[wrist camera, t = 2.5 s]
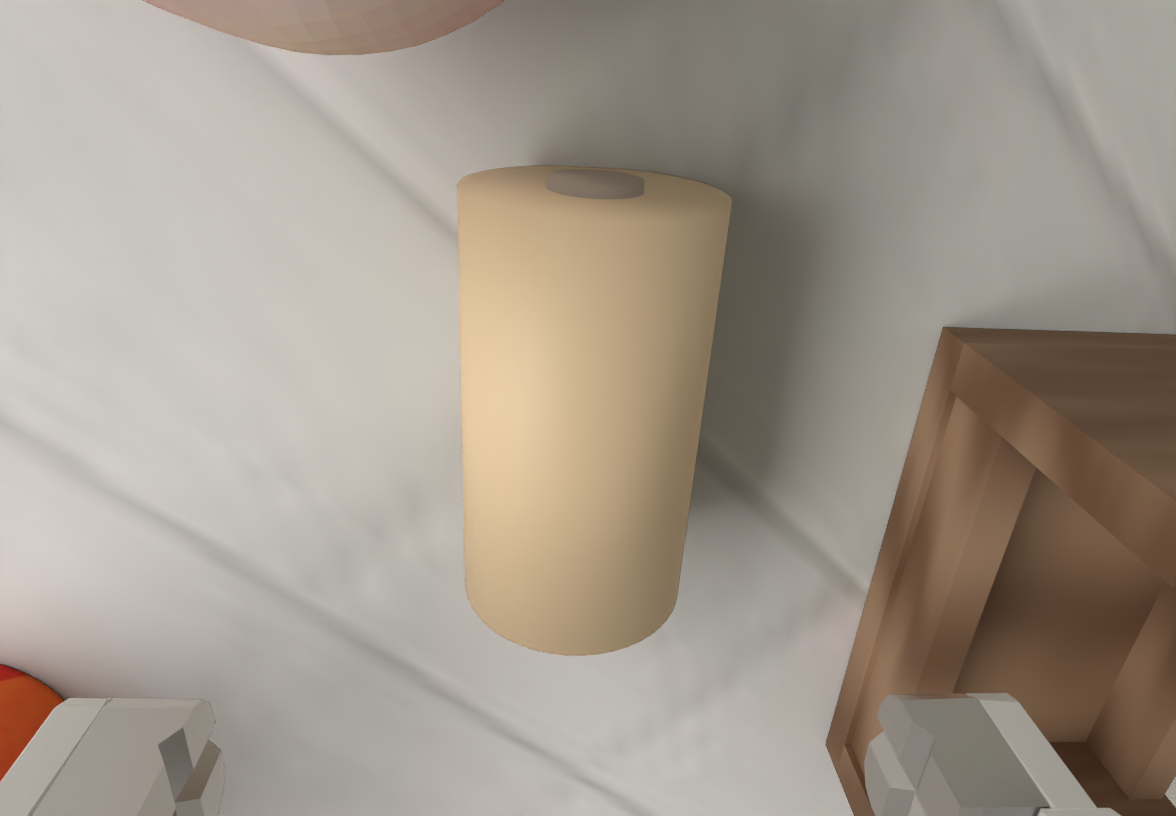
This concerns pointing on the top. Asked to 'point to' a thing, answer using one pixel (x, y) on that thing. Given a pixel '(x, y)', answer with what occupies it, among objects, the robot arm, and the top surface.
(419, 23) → the decorative fruit
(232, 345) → the top surface
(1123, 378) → the holder
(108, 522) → the top surface
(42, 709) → the paper cup
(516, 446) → the roll
